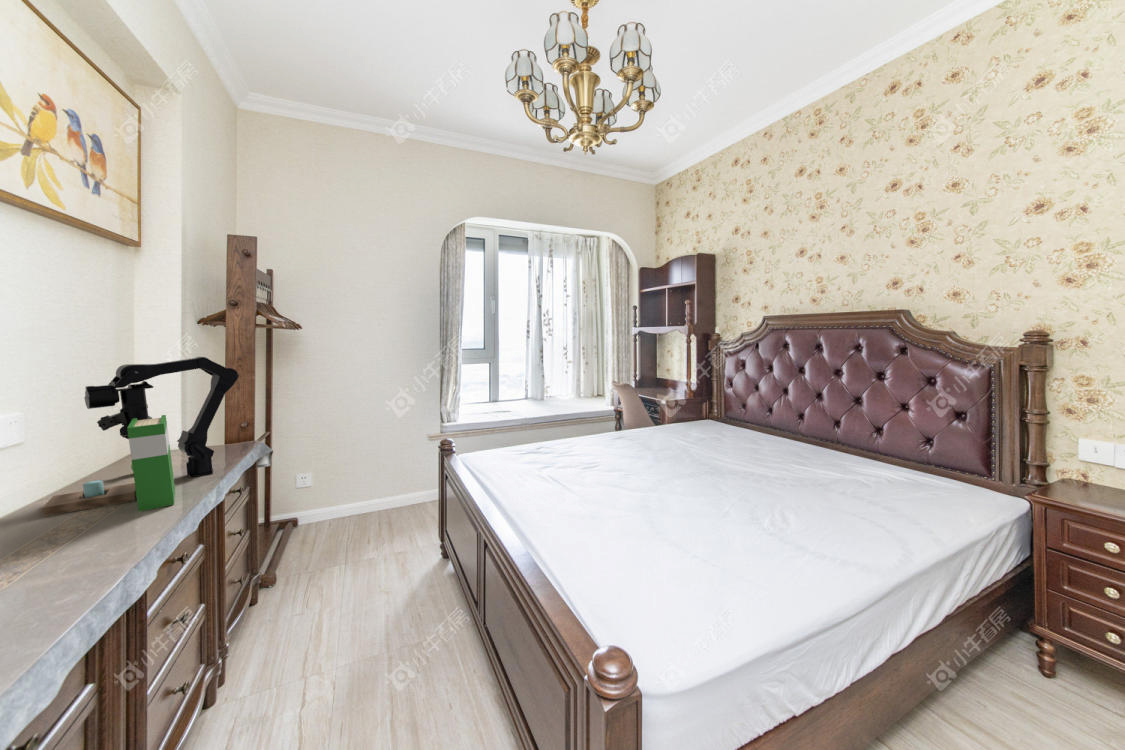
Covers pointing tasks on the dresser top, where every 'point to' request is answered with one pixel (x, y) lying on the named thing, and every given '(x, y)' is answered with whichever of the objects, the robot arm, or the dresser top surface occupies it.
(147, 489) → the hardback book
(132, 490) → the rail
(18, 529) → the dresser top surface
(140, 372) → the robot arm
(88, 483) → the teal peg
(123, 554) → the dresser top surface
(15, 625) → the dresser top surface
